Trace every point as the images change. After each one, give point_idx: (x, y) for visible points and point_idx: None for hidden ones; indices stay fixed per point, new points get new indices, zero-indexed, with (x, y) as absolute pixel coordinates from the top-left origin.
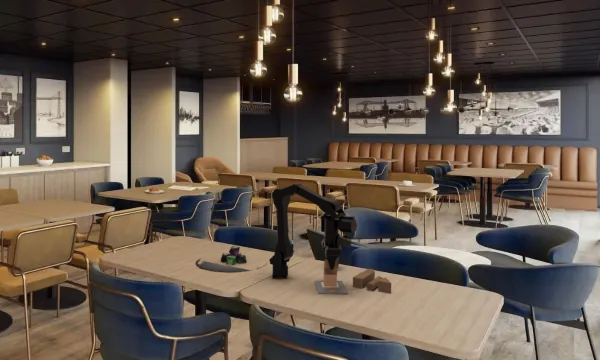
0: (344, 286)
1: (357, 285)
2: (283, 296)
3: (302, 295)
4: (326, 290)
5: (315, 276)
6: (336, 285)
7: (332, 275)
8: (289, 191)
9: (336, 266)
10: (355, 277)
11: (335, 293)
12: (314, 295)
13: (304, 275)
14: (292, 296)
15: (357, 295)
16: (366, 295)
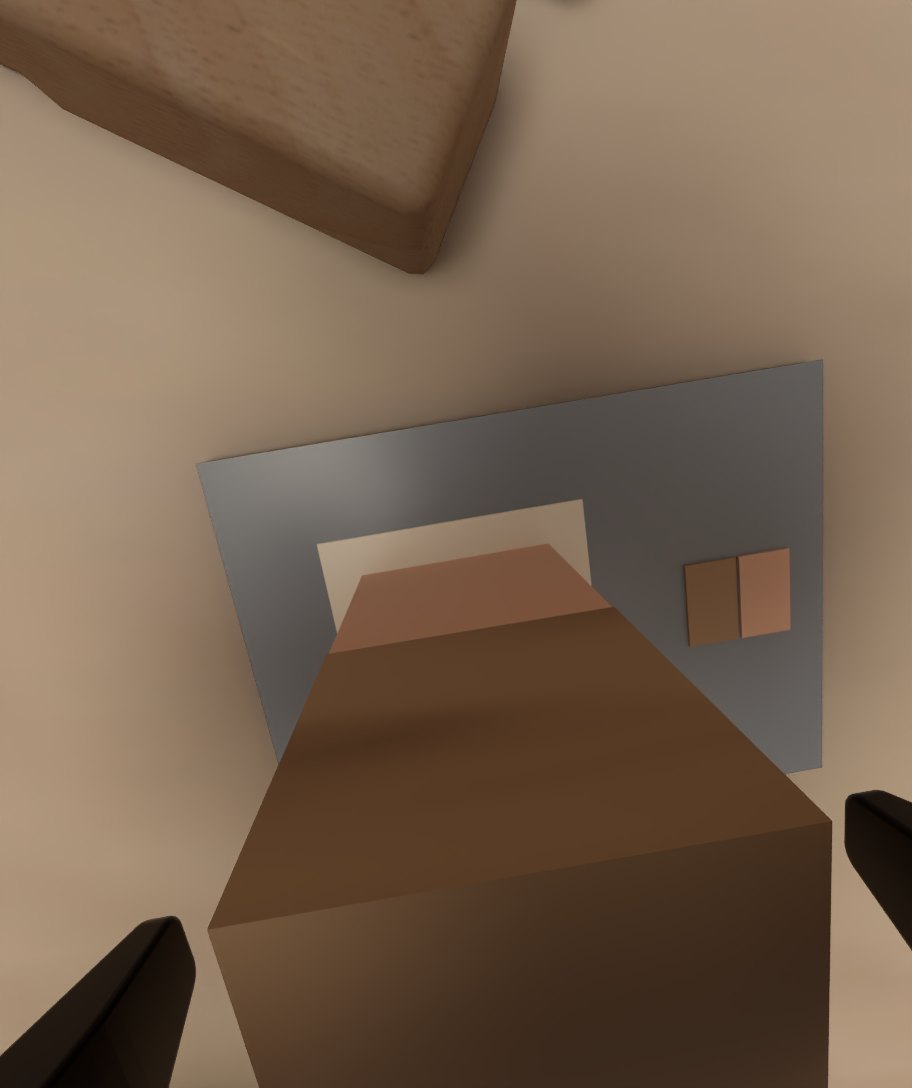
0: (520, 416)
1: (467, 165)
2: (887, 1058)
3: (860, 904)
4: (738, 673)
5: (26, 859)
6: (553, 549)
7: None
8: None
9: (731, 746)
10: (438, 136)
11: (810, 543)
12: (862, 787)
13: (32, 989)
14: (890, 987)
15: (874, 198)
16: (878, 25)
